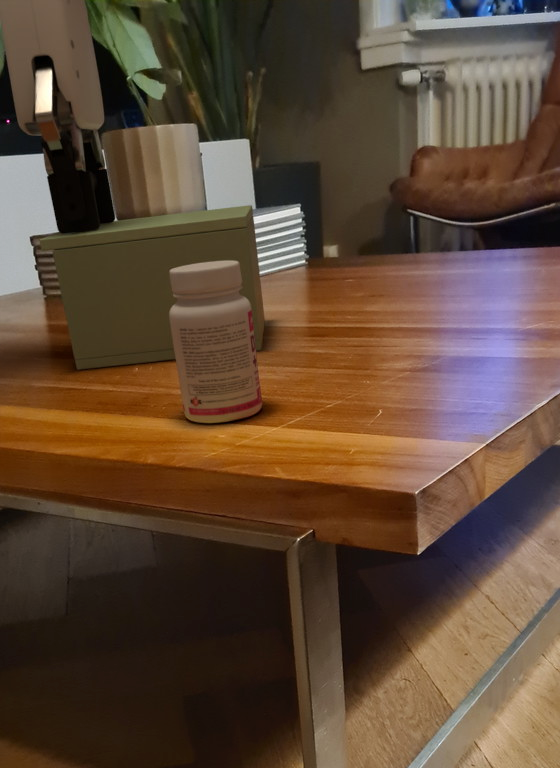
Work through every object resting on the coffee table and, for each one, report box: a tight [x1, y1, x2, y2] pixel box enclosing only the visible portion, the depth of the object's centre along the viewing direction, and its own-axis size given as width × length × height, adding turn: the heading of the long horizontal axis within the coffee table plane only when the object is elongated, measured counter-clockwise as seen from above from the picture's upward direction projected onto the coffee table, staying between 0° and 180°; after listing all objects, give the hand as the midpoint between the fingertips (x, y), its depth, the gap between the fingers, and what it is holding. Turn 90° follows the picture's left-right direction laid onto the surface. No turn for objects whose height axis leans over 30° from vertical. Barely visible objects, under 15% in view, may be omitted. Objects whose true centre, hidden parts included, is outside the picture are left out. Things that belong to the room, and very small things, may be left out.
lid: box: [38, 170, 254, 252], centre depth 72 cm, size 15×13×5 cm
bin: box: [51, 216, 266, 371], centre depth 75 cm, size 15×13×9 cm
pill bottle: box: [169, 261, 263, 424], centre depth 53 cm, size 5×5×8 cm
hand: (88, 225), depth 73 cm, fingers closed on lid, 6 cm apart
